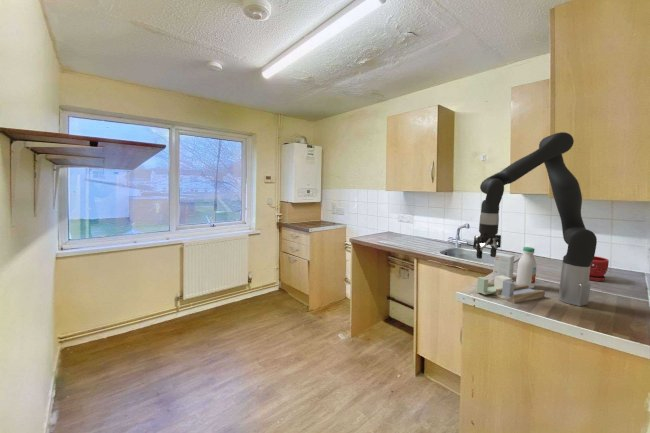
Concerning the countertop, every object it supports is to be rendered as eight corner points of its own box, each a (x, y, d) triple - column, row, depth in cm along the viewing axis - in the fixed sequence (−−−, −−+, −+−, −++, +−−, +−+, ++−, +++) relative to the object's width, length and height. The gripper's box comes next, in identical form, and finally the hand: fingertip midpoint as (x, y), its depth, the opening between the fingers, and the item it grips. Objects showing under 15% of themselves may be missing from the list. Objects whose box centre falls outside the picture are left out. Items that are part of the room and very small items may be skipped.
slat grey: (539, 293, 131) (541, 279, 131) (510, 298, 125) (512, 284, 124) (528, 289, 136) (530, 276, 135) (500, 294, 129) (501, 280, 129)
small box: (512, 278, 156) (515, 255, 154) (508, 280, 152) (510, 257, 150) (496, 274, 162) (498, 252, 160) (492, 276, 158) (494, 254, 156)
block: (511, 288, 135) (512, 278, 134) (503, 289, 133) (504, 279, 133) (501, 285, 140) (502, 275, 139) (493, 286, 138) (494, 276, 137)
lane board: (544, 297, 130) (545, 291, 130) (513, 303, 123) (514, 296, 123) (511, 285, 145) (511, 279, 144) (482, 289, 138) (482, 283, 138)
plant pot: (595, 275, 163) (598, 255, 161) (612, 283, 150) (615, 261, 148) (569, 273, 166) (571, 253, 164) (583, 281, 153) (585, 259, 152)
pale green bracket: (513, 289, 136) (515, 276, 135) (484, 294, 129) (485, 280, 128) (504, 286, 140) (505, 272, 140) (475, 290, 134) (476, 276, 133)
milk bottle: (526, 289, 139) (530, 250, 137) (512, 284, 147) (515, 246, 144) (538, 288, 141) (542, 249, 139) (523, 282, 149) (527, 245, 146)
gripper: (484, 224, 122) (481, 261, 124) (507, 223, 127) (504, 258, 129) (470, 222, 129) (467, 256, 131) (492, 221, 134) (490, 254, 136)
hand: (486, 257), depth 130 cm, fingers open, 8 cm apart
